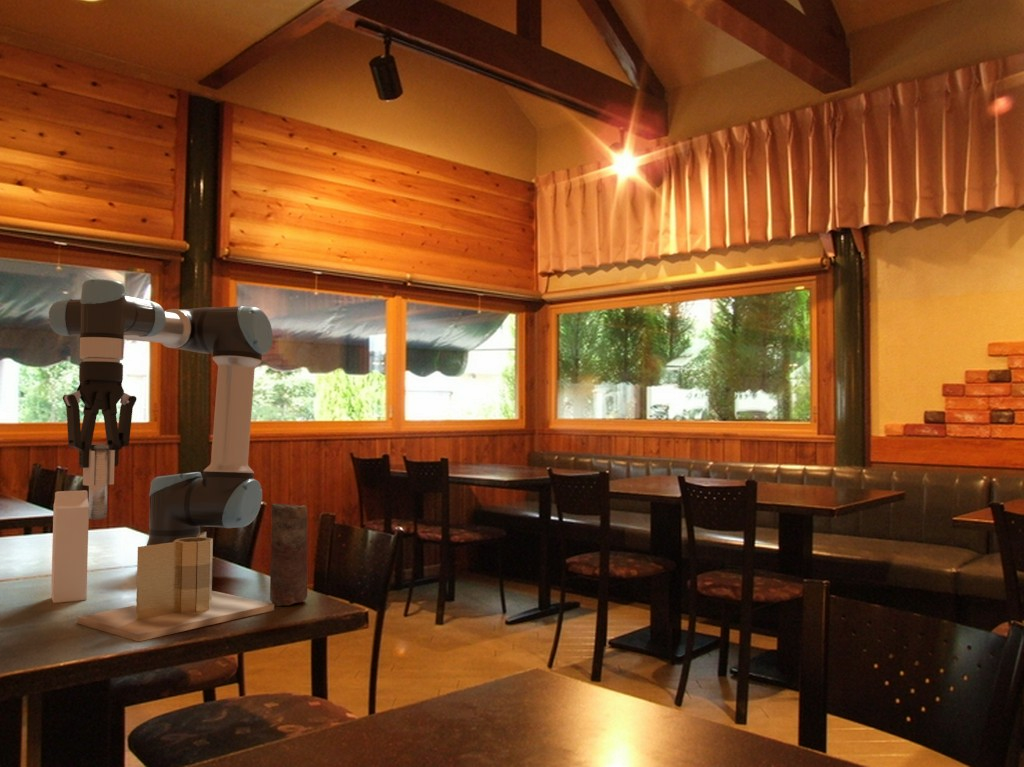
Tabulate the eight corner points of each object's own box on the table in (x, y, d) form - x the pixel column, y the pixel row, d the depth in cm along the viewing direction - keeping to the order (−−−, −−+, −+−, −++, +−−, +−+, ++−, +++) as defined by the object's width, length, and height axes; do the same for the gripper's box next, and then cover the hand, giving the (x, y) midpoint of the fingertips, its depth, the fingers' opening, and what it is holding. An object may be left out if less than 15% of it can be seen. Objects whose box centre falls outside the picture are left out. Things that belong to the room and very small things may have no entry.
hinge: (203, 595, 170) (205, 531, 170) (238, 603, 163) (239, 536, 164) (112, 613, 154) (114, 542, 155) (147, 623, 148) (149, 548, 148)
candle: (268, 600, 172) (270, 502, 173) (304, 597, 175) (306, 501, 175) (271, 608, 165) (273, 506, 166) (309, 605, 168) (311, 504, 168)
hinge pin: (101, 516, 162) (103, 443, 162) (111, 518, 159) (113, 444, 160) (83, 518, 159) (85, 444, 159) (93, 519, 157) (94, 444, 157)
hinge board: (211, 596, 175) (211, 590, 175) (274, 610, 163) (274, 604, 163) (77, 623, 152) (77, 616, 152) (138, 641, 140) (138, 634, 140)
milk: (86, 600, 171) (90, 491, 171) (52, 603, 167) (56, 492, 168) (83, 594, 176) (86, 488, 176) (50, 597, 172) (53, 490, 173)
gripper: (131, 363, 169) (128, 480, 168) (48, 359, 156) (44, 486, 155) (152, 362, 164) (149, 483, 164) (68, 358, 151) (64, 488, 151)
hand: (98, 484), depth 159 cm, fingers closed on hinge pin, 3 cm apart
